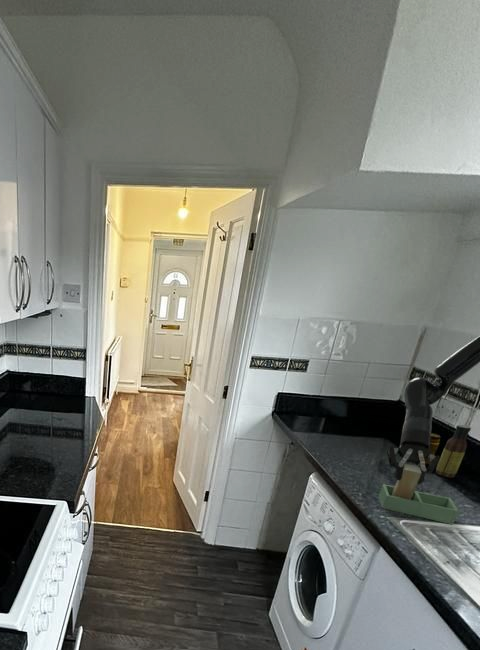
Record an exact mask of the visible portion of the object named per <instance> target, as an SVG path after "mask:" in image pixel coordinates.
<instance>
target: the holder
mask: <svg viewBox="0 0 480 650" xmlns="http://www.w3.org/2000/svg"><path fill="white" fill-rule="evenodd" d="M394 487H395V485H390V484H384V483H383V484H382V486H381V489H380V492H379V493H378V497H379V502H380V507H381V509H384V510H387V511H388V510H389V511H393V512H397V513H401V514H406V515H410V516H414V517H418V518H423V519H426V520H432V521H435V522H436V521H437V522H439V523H440V522H441V523H445V524H450V525H454V523H455V520H456V519H457V516H458V514H459V512H460V511H459V509H458V508H457V506H456V504H455V502H454V501H453V499H452V498H451V497H448V496H447V497H446V496H442V495H438V494H437V495H436V494H432V493H428V492H422V491H417V490H414V492H413V495H412V497H411V499H410V500H409V499H404V498H400V497H395V496H391V495H392V492H393V490H394Z"/></svg>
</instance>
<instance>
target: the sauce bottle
mask: <svg viewBox="0 0 480 650" xmlns="http://www.w3.org/2000/svg"><path fill="white" fill-rule="evenodd" d="M455 428H456V429H455V432H454V434H453V436H452V437H451V438H448V440H446V441H447V442H446V444H445V446H444V448H443V451H442V453H441V455H440V459H439V461H438V463H437V465H436V467H435V474H437V475H439V476H441V477H444V478H449V479H452V478H454V477H455V476H456V474H457V473H458V470H459V468H460V466H461V464H462V461H463V458H464V457H465V453H466V450H467V448H468V443H467V438H468V435H469V433H470V431H471V430H472V427H471V426H469V425H465V424H457V425H456V426H455Z"/></svg>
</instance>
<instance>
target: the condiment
mask: <svg viewBox="0 0 480 650" xmlns="http://www.w3.org/2000/svg"><path fill="white" fill-rule="evenodd" d="M441 438H442V436H440V434H437V433H432V432H431V437H430V445H429V452H430V454H432V455H434V456H435V454H436V453H437V450H438V448H439V446H440V441H441ZM430 463H431V462H430V461H429V458H426V459H425V465H430Z"/></svg>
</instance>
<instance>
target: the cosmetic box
mask: <svg viewBox="0 0 480 650" xmlns="http://www.w3.org/2000/svg"><path fill="white" fill-rule="evenodd" d="M402 468H403V473H402V478H401V480H400V481H399V480H397V479H396V482H395V484H394V490H393V492H392V495H391V496H395V497H400V498H404V499H409V500H410V499H411V497H412V495H413V492H414V491H416V487H417V485H418V484H417V483H418V481H419V478H420V476H421V469H420V466H416V464H412V463H407V462H405V464H404V465H403V466H402Z"/></svg>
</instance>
